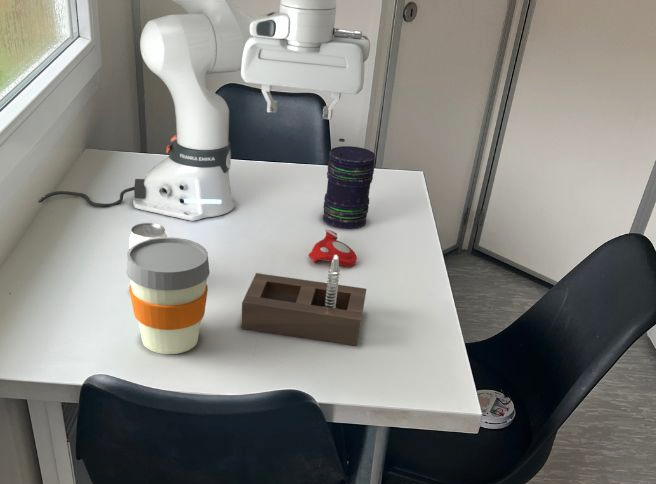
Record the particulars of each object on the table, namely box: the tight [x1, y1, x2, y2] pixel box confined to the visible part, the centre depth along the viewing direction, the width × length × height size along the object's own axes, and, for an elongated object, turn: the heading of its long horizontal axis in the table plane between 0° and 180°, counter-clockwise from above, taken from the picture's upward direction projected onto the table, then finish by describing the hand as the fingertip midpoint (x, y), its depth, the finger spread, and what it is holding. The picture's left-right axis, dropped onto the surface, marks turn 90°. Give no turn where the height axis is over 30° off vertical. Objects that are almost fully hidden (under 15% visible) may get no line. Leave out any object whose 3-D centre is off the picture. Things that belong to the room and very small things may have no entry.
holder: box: [240, 272, 367, 347], centre depth 124 cm, size 11×20×5 cm, turn 79°
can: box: [129, 222, 168, 249], centre depth 127 cm, size 6×6×12 cm
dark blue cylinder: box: [322, 138, 376, 230], centre depth 157 cm, size 10×10×18 cm
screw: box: [323, 255, 341, 309], centre depth 121 cm, size 13×5×5 cm
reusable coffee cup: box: [126, 236, 210, 355], centre depth 113 cm, size 13×13×15 cm
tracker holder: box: [308, 228, 358, 267], centre depth 145 cm, size 12×4×10 cm
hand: (299, 115), depth 123 cm, fingers open, 8 cm apart
